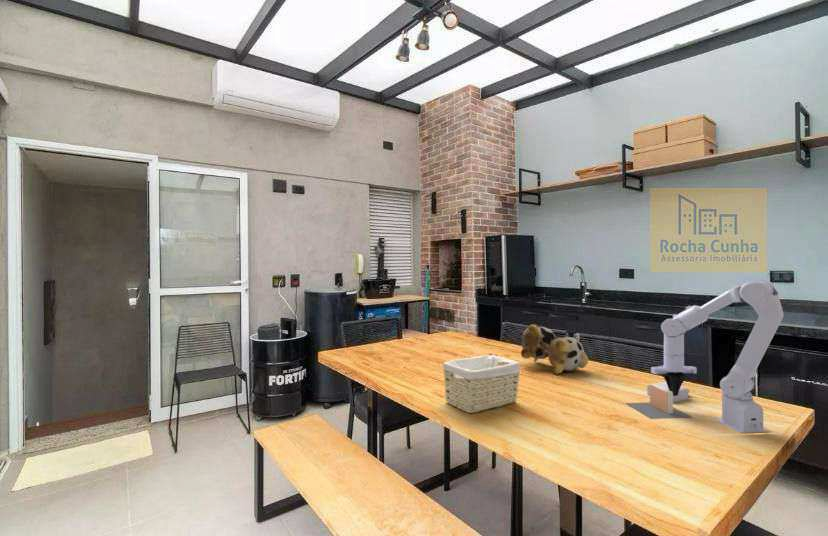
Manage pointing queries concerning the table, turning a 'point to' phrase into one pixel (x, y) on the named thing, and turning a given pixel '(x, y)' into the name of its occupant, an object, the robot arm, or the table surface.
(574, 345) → the toy
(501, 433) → the table surface
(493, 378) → the object
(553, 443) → the table surface
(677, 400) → the charger
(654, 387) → the tile
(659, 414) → the mat
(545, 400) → the table surface
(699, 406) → the table surface
